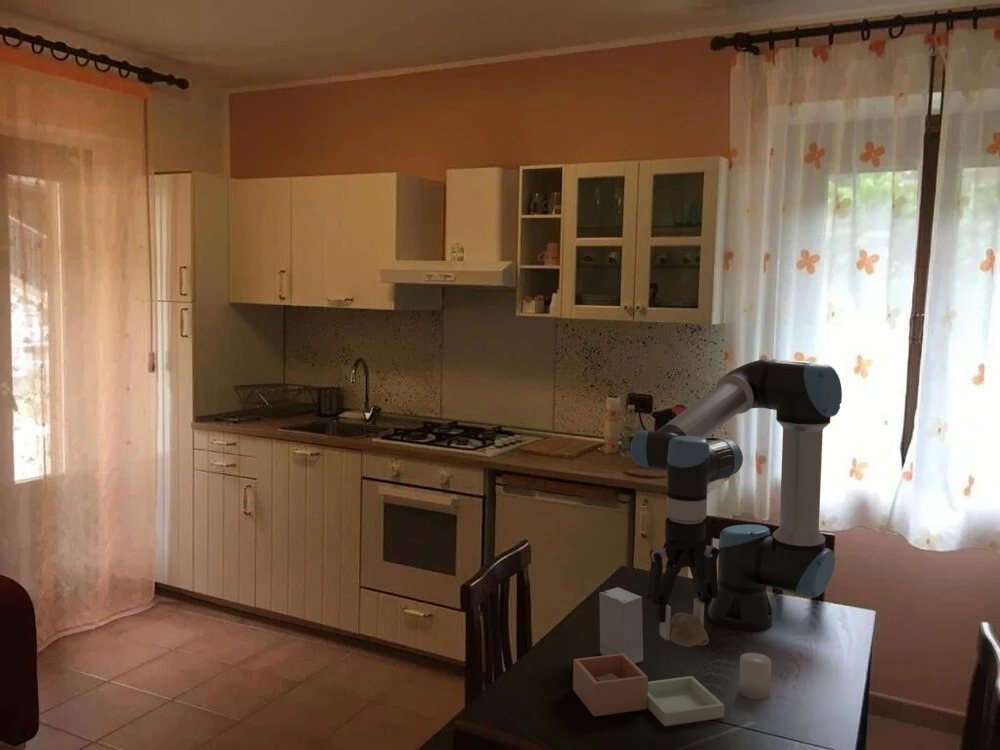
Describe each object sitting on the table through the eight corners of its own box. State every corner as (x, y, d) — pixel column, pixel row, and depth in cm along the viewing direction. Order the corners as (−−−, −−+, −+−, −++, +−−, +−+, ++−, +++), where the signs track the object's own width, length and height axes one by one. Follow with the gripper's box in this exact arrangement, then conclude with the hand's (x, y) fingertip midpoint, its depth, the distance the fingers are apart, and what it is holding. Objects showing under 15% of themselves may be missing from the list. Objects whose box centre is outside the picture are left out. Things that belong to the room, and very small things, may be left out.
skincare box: (643, 663, 186) (645, 597, 185) (622, 670, 183) (624, 602, 181) (617, 649, 193) (619, 585, 192) (597, 655, 190) (598, 590, 188)
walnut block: (610, 692, 172) (611, 673, 171) (623, 700, 168) (624, 681, 168) (594, 697, 170) (595, 677, 169) (607, 705, 166) (608, 686, 166)
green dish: (691, 690, 174) (692, 675, 174) (723, 720, 163) (724, 705, 162) (635, 697, 171) (636, 683, 171) (664, 729, 159) (665, 713, 159)
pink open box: (623, 685, 176) (624, 653, 175) (646, 711, 165) (648, 677, 165) (572, 692, 173) (573, 659, 172) (593, 719, 162) (594, 684, 162)
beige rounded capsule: (758, 683, 177) (760, 651, 177) (775, 697, 172) (777, 664, 171) (733, 687, 176) (734, 654, 175) (749, 701, 170) (750, 667, 169)
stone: (704, 649, 165) (677, 614, 169) (720, 634, 161) (692, 599, 165) (681, 664, 162) (654, 628, 165) (696, 649, 157) (669, 613, 161)
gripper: (720, 510, 169) (715, 622, 171) (630, 516, 163) (626, 632, 166) (741, 520, 162) (736, 638, 164) (647, 527, 156) (643, 648, 159)
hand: (681, 635), depth 165 cm, fingers closed on stone, 6 cm apart
